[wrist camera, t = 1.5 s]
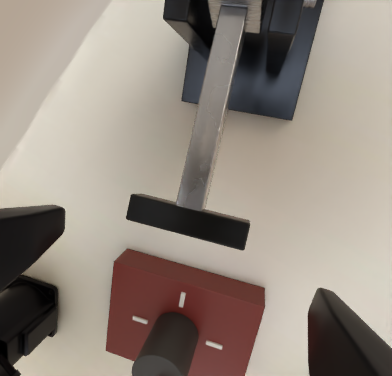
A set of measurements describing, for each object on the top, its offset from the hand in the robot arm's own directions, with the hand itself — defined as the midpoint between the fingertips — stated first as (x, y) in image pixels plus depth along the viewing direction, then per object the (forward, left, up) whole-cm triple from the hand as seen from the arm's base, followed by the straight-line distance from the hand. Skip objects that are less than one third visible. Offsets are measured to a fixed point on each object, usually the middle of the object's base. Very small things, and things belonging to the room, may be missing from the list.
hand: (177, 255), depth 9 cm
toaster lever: (0, +5, -5) cm, 7 cm away
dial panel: (-1, -14, -14) cm, 20 cm away
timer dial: (-1, -14, -11) cm, 18 cm away
